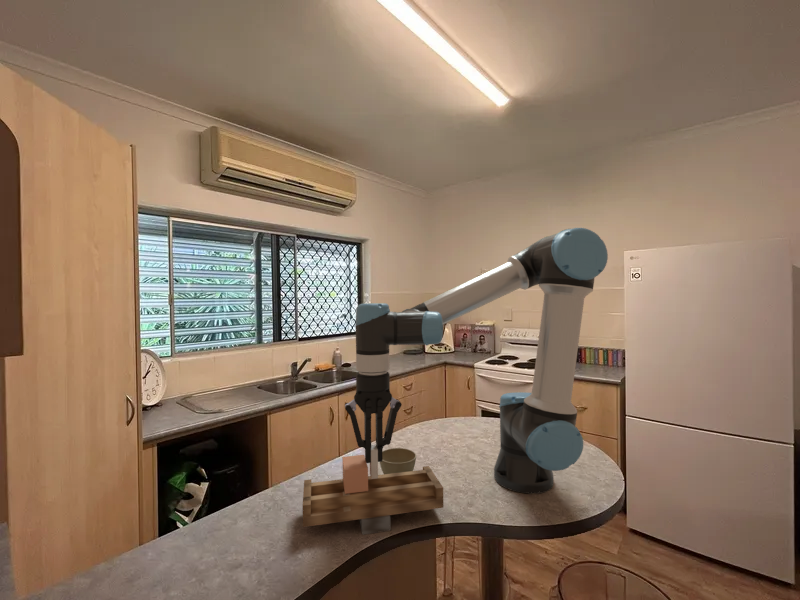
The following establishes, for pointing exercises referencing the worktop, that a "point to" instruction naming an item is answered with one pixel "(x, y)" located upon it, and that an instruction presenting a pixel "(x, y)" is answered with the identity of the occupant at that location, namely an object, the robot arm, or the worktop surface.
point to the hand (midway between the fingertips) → (373, 475)
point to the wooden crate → (372, 499)
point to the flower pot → (397, 460)
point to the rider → (355, 474)
